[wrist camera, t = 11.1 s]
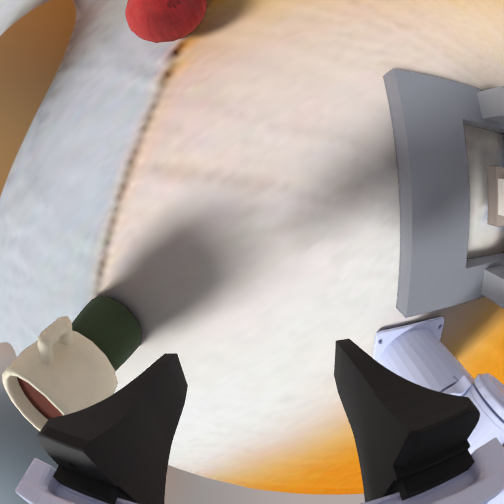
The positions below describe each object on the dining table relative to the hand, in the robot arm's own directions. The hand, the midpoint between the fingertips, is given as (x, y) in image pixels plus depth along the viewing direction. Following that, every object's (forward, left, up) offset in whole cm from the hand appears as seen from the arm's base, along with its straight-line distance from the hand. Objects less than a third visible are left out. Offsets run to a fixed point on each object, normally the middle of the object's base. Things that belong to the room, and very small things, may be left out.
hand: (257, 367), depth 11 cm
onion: (+22, +4, -11) cm, 25 cm away
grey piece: (+6, -23, -10) cm, 26 cm away
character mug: (-3, +14, -11) cm, 18 cm away
